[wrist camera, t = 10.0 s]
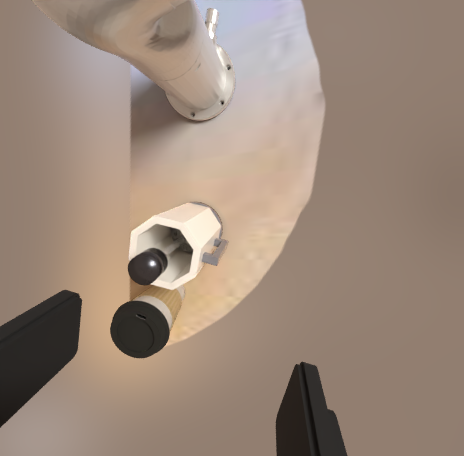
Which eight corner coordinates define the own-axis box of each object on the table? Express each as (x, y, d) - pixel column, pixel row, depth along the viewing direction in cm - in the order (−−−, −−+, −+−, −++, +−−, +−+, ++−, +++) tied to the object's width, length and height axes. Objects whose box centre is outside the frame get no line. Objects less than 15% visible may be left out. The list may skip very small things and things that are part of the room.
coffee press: (175, 196, 49) (131, 207, 33) (237, 211, 47) (222, 230, 32) (167, 246, 51) (123, 278, 36) (226, 261, 50) (207, 301, 35)
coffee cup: (144, 300, 55) (100, 346, 40) (157, 262, 52) (114, 296, 38) (185, 318, 54) (154, 371, 40) (199, 280, 52) (172, 322, 37)
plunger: (175, 209, 45) (116, 233, 28) (213, 218, 45) (177, 249, 27) (170, 245, 47) (110, 290, 29) (206, 254, 47) (167, 306, 29)
